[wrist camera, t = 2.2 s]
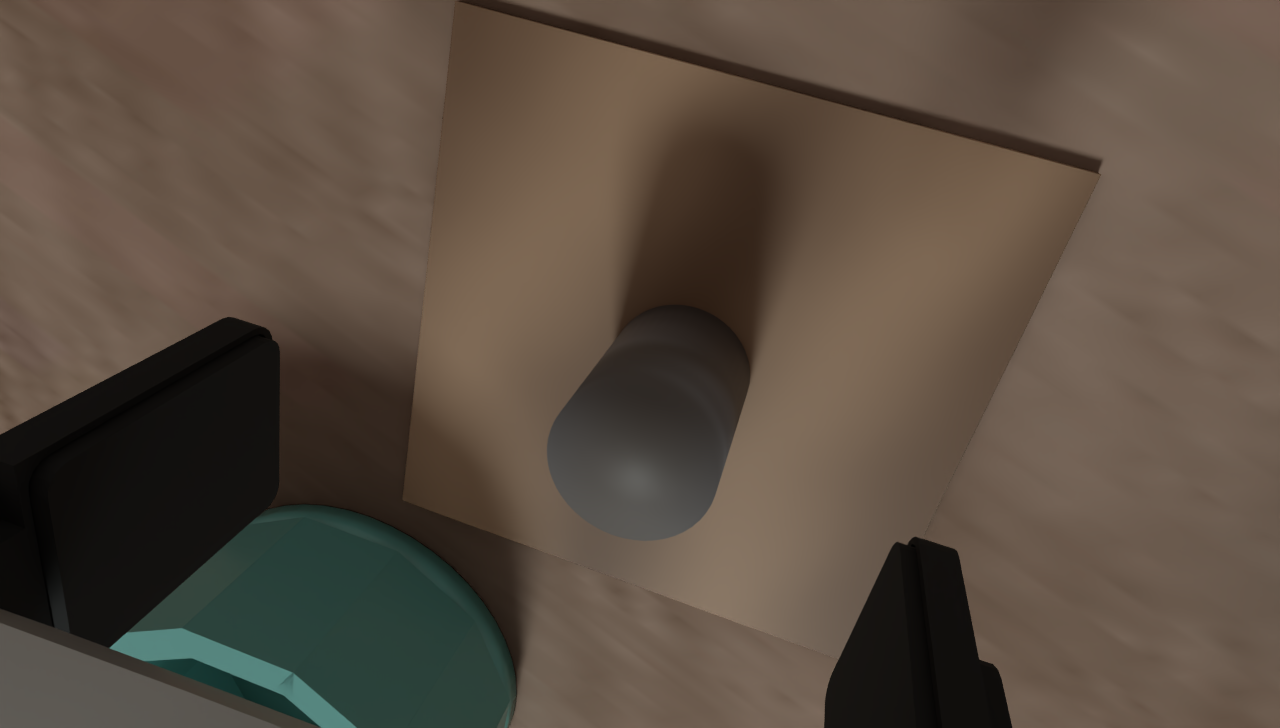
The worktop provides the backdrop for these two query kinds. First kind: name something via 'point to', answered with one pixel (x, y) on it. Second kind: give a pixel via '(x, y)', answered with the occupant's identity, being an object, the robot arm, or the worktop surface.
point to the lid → (711, 320)
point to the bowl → (334, 627)
